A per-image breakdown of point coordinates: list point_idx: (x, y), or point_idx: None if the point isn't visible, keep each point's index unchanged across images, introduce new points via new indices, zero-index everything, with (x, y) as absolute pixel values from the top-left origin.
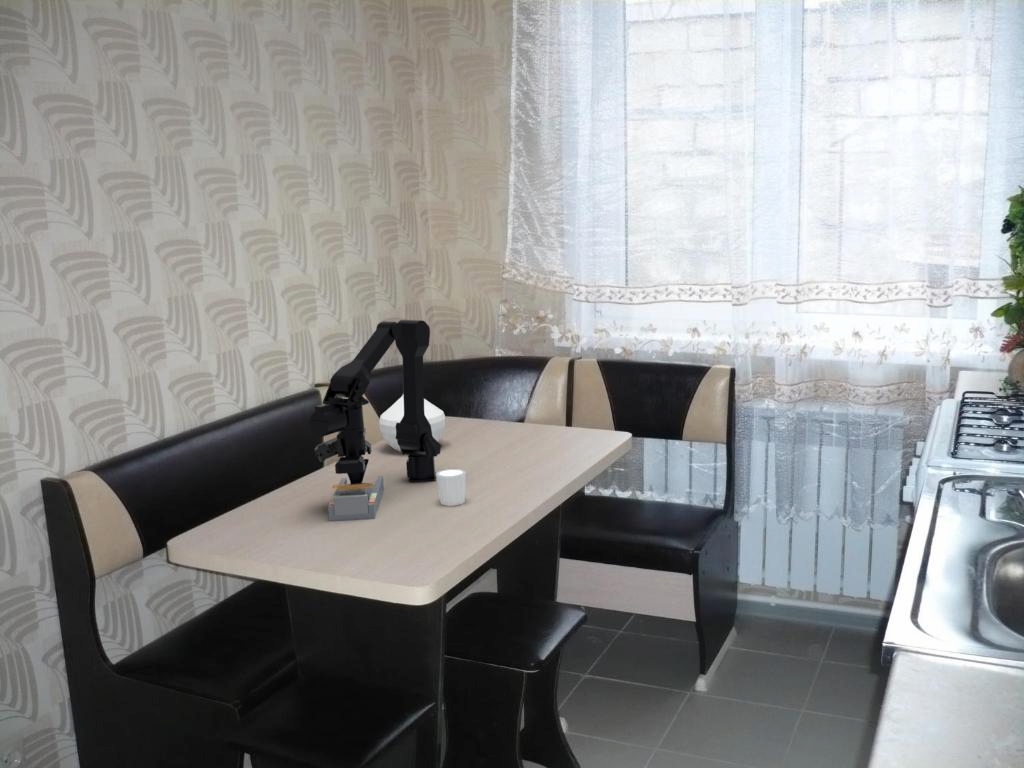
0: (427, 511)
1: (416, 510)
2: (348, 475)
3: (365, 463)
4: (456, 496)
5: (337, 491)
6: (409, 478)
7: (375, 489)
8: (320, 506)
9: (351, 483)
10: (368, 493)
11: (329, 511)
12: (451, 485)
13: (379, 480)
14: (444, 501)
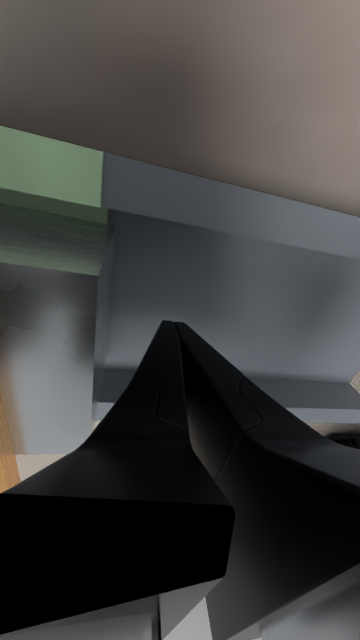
0: (21, 478)
1: (36, 459)
2: (103, 421)
3: (216, 619)
4: None
5: (239, 208)
6: (349, 439)
7: None
8: (236, 42)
9: (144, 358)
10: (249, 353)
11: None
12: None
13: (308, 416)
14: None
